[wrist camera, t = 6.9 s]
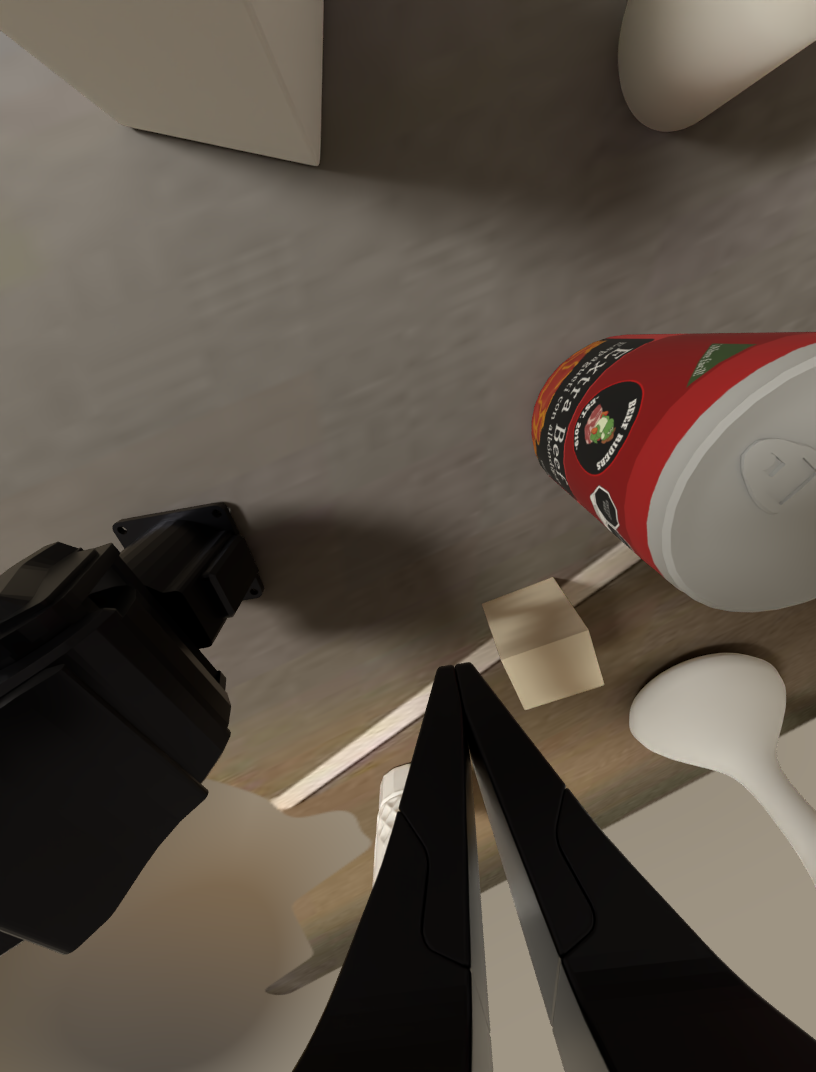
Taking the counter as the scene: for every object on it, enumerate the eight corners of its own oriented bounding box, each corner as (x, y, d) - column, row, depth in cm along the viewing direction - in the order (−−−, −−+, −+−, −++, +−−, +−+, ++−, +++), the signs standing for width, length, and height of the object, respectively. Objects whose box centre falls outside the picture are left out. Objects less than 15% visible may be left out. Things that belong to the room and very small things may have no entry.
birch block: (503, 650, 27) (524, 710, 23) (481, 603, 25) (501, 660, 21) (568, 627, 26) (604, 685, 22) (552, 576, 24) (588, 629, 20)
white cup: (410, 747, 32) (417, 899, 24) (472, 775, 35) (500, 921, 26) (358, 787, 35) (348, 936, 26) (419, 810, 38) (428, 952, 29)
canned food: (567, 311, 17) (809, 278, 7) (710, 363, 18) (1077, 394, 8) (502, 467, 20) (605, 588, 11) (625, 501, 21) (817, 634, 12)
